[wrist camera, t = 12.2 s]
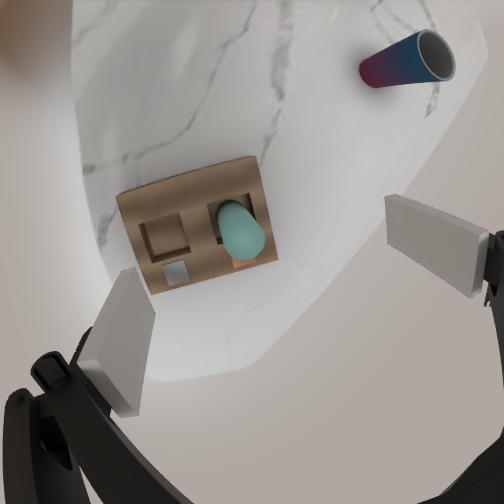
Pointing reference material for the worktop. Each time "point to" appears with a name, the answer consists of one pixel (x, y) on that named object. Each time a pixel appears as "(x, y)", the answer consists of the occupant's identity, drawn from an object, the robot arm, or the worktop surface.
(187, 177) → the socket board
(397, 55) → the cup
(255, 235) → the plug
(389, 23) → the worktop surface
